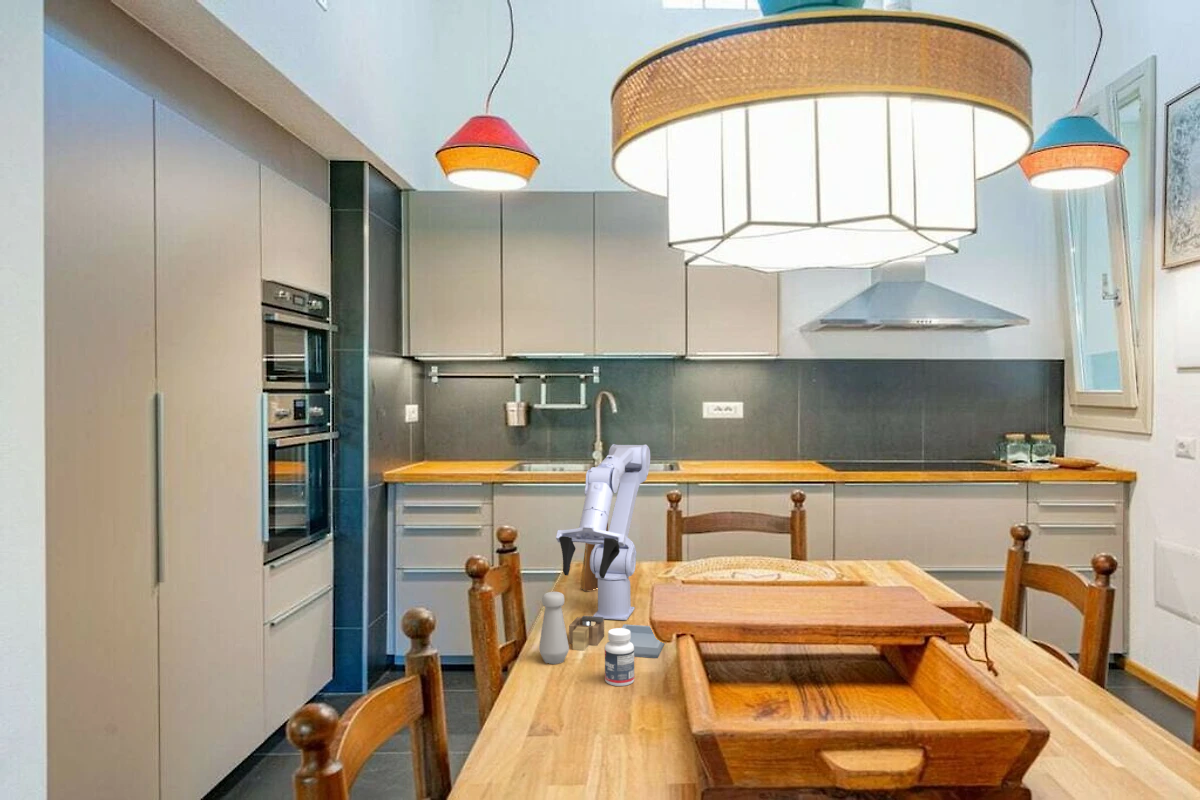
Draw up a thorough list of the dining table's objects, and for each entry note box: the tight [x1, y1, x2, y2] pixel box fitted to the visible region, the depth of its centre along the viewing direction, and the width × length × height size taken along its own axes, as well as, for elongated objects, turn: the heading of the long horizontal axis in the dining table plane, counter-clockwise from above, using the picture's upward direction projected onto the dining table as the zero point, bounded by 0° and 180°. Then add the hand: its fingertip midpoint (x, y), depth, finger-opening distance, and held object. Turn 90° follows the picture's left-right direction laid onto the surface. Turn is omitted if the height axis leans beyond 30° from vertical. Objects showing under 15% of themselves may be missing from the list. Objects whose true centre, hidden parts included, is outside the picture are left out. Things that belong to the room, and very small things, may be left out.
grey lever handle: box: [581, 615, 603, 626], centre depth 150 cm, size 3×5×5 cm, turn 76°
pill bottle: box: [604, 627, 635, 687], centre depth 129 cm, size 5×5×9 cm
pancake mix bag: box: [580, 522, 609, 592], centre depth 196 cm, size 7×19×28 cm, turn 163°
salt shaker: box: [538, 591, 570, 665], centre depth 139 cm, size 6×6×13 cm
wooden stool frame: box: [568, 616, 605, 651], centre depth 149 cm, size 9×6×4 cm, turn 166°
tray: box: [621, 623, 665, 659], centre depth 147 cm, size 13×10×2 cm
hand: (583, 574), depth 146 cm, fingers open, 7 cm apart
